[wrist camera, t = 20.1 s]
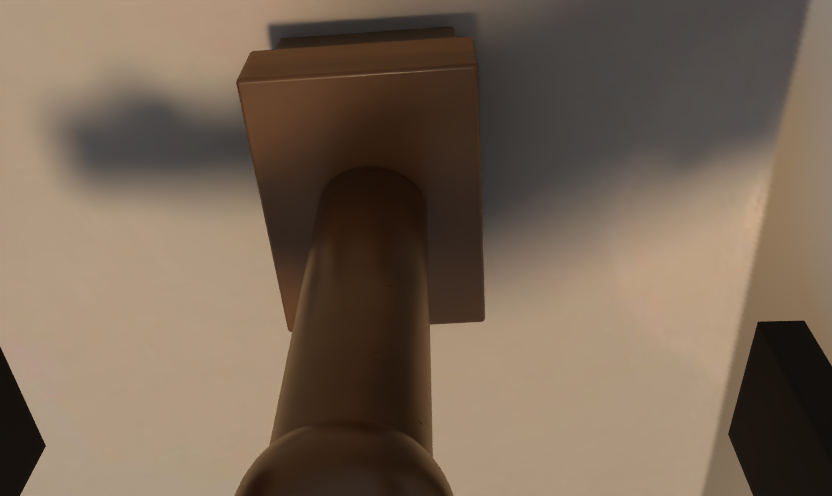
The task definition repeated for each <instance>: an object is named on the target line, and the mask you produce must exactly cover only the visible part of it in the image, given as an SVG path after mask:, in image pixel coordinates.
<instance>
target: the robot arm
mask: <svg viewBox="0 0 832 496" xmlns="http://www.w3.org/2000/svg"><path fill="white" fill-rule="evenodd" d="M728 435H729V437H730V440H731V442H732V445H733V447H734V449H735V452H736V455H737V457H738V459H739V462H740V464H741V467H742V469H743V472H744V474H745V477H746V479H747V482H748V484H749V486H750V489H751V491H752V494H753V496H832V366H831V364H830V363H829V361H828V359H827V358H826V356H825V354H824V353H823V351H822V349H821V348H820V346H819V344H818V343H817V341H816V339H815V338H814V336H813V334H812V333H811V331H810V329H809V328H808V326H807V325H806V323H805V321H775V322H774V321H772V322H771V321H770V322H758V323H757V327H756V331H755V335H754V339H753V342H752V346H751V350H750V354H749V357H748V361H747V365H746V369H745V373H744V377H743V380H742V384H741V388H740V392H739V395H738V399H737V403H736V407H735V411H734V414H733V418H732V422H731V426H730V430H729V433H728ZM45 447H46V445H45V443H44V441H43V439H42V437H41V434H40V432H39V430H38V428H37V426H36V424H35V421H34V419H33V417H32V415H31V413H30V411H29V408H28V406H27V404H26V402H25V400H24V397H23V395H22V393H21V391H20V389H19V387H18V384H17V382H16V380H15V378H14V376H13V374H12V371H11V369H10V367H9V365H8V363H7V360H6V358H5V356H4V354H3V352H2V350H1V347H0V496H20V494H21V492H22V491H23V489H24V487H25V485H26V483H27V481H28V479H29V477H30V475H31V473H32V471H33V470H34V468H35V466H36V464H37V462H38V460H39V458H40V456H41V454H42V452H43V450H44V449H45Z"/></svg>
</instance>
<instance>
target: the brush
mask: <svg viewBox="0 0 832 496" xmlns="http://www.w3.org/2000/svg"><path fill="white" fill-rule="evenodd" d="M236 84H237V89H238V93H239V98H240V103H241V108H242V112H243V117H244V122H245V127H246V131H247V136H248V141H249V146H250V151H251V155H252V160H253V165H254V170H255V174H256V179H257V184H258V189H259V193H260V198H261V203H262V208H263V212H264V217H265V222H266V227H267V231H268V236H269V241H270V246H271V251H272V255H273V260H274V265H275V270H276V274H277V279H278V284H279V289H280V293H281V298H282V303H283V308H284V312H285V317H286V322H287V327H288V330H289V331H290V332H292V337H291V341H290V346H289V351H288V356H287V361H286V366H285V371H284V376H283V381H282V386H281V391H280V396H279V401H278V406H277V411H276V416H275V421H274V426H273V431H272V436H271V440H270V445H269V447H268V448H267V449H266V450H265V451H264V452H263V453H262V454H261V455H260V456H259V457H258V458H257V459H256V460H255V461H254V463H253V464H252V466H251V467H250V468H249V470H248V471H247V473H246V474H245V476H244V477H243V479H242V481H241V483H240V485H239V487H238V489H237V491H236V493H235V496H454V495H453V493H452V490H451V488H450V485H449V483H448V481H447V479H446V477H445V475H444V473H443V472H442V470H441V468H440V467H439V466H438V464H437V463H436V461H435V460H434V459H433V447H432V402H431V357H430V324H448V323H466V322H482V321H484V319H485V300H484V264H483V227H482V190H481V153H480V116H479V79H478V63H477V57H476V52H475V46H474V41H473V38H472V37H470V36H468V37H455V29H454V27H441V28H427V29H412V30H398V31H384V32H369V33H355V34H340V35H326V36H311V37H297V38H283V39H280V42H279V44H278V46H277V49H276V50H264V51H253V52H251V53H250V55H249V57H248V59H247V61H246V63H245V65H244V67H243V69H242V71H241V73H240V75H239V77H238V79H237V82H236Z"/></svg>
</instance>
